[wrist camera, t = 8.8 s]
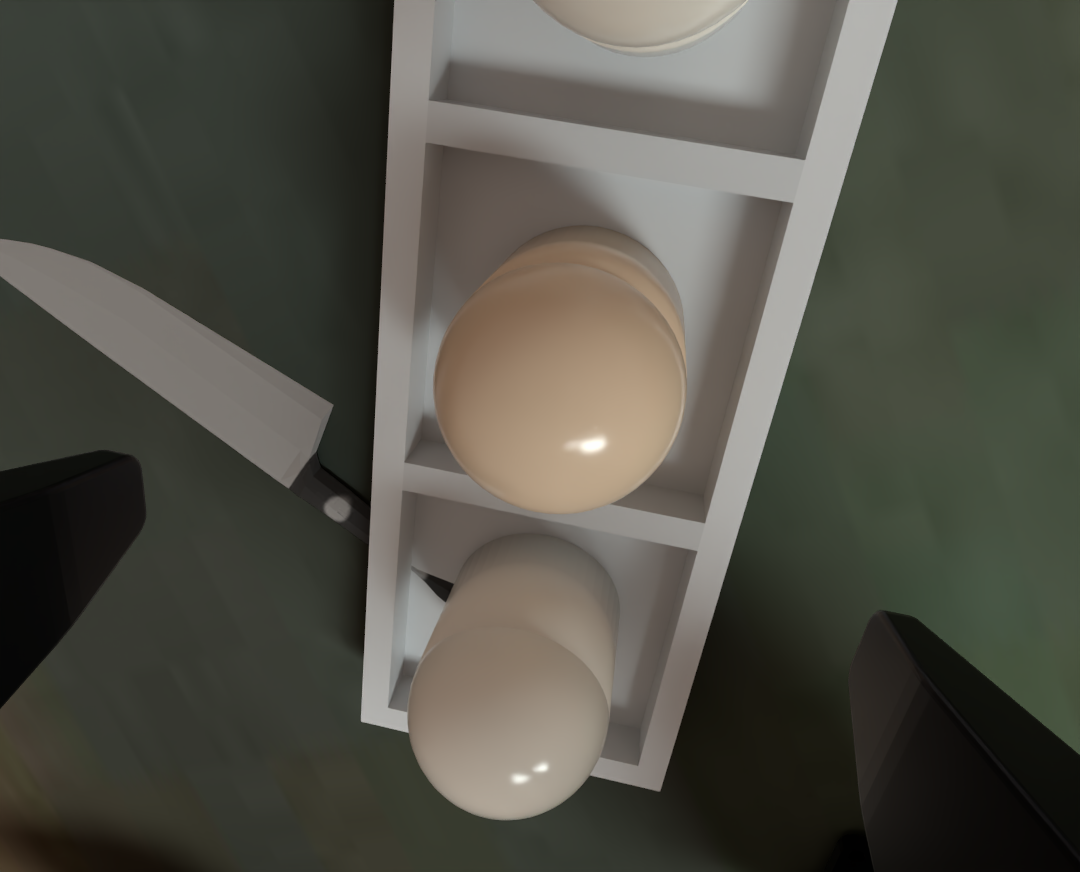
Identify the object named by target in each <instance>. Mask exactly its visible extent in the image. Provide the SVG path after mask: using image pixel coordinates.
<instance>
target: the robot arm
mask: <svg viewBox="0 0 1080 872" xmlns="http://www.w3.org/2000/svg"><path fill="white" fill-rule="evenodd" d="M145 520H146V504H145V494H144V485H143V476H142V468H141V464H140V462H139V460H138V459H137V458H136V457H134V456H133V455H129V454H125V453H120V452H115V451H110V450H97V451H93V452H88V453H83V454H79V455H74V456H69V457H65V458H60V459H56V460H51V461H46V462H42V463H37V464H32V465H28V466H23V467H19V468H14V469H9V470H5V471H0V709H1V707H2V706H3V705H4V704H5V703H6V702H7V701H8V699H9V698H10V697H11V696H12V695H13V694H14V693H15V692H16V690H17V689H18V688H19V687H20V686H21V685H22V684H23V683H24V681H25V680H26V679H27V678H28V677H29V676H30V675H31V673H32V672H33V671H34V670H35V669H36V668H37V667H38V666H39V664H40V663H41V662H42V661H43V660H44V659H45V658H46V656H47V655H48V654H49V653H50V652H51V651H52V650H53V649H54V647H55V646H56V645H57V644H58V643H59V642H60V640H61V639H62V638H63V637H64V636H65V635H66V633H67V632H68V631H69V630H70V629H71V627H72V626H73V625H74V623H75V622H76V621H77V619H78V618H79V617H80V616H81V614H82V613H83V612H84V610H85V609H86V608H87V606H88V605H89V603H90V602H91V601H92V599H93V598H94V596H95V595H96V594H97V592H98V591H99V589H100V588H101V587H102V585H103V584H104V583H105V581H106V580H107V578H108V577H109V576H110V574H111V573H112V571H113V570H114V569H115V567H116V566H117V564H118V563H119V562H120V560H121V559H122V557H123V556H124V555H125V553H126V552H127V551H128V549H129V548H130V546H131V545H132V544H133V542H134V541H135V539H136V538H137V537H138V535H139V534H140V532H141V530H142V528H143V526H144V523H145ZM848 683H849V695H850V706H851V716H852V726H853V737H854V747H855V758H856V768H857V778H858V788H859V796H860V804H861V811H862V816H863V822H864V827H865V832H866V836H862V835H856V834H851V835H846V836H844V837H842V838H841V839H840V840H839V841H838V843H837V845H836V847H835V849H834V851H833V854H832V856H831V858H830V860H829V862H828V864H827V866H826V868H825V871H824V872H1080V755H1079V754H1078V753H1077V752H1076V751H1074V750H1073V749H1072V748H1071V747H1070V746H1068V745H1067V744H1066V743H1065V742H1064V741H1062V740H1061V739H1060V738H1059V737H1058V736H1056V735H1055V734H1054V733H1053V732H1052V731H1050V730H1049V729H1048V728H1047V727H1046V726H1044V725H1043V724H1042V723H1041V722H1040V721H1038V720H1037V719H1036V718H1035V717H1034V716H1032V715H1031V714H1030V713H1029V712H1028V711H1026V710H1025V709H1024V708H1023V707H1022V706H1020V705H1019V704H1018V703H1017V702H1016V701H1015V700H1013V699H1012V698H1011V697H1010V696H1009V695H1007V694H1006V693H1005V692H1004V691H1003V690H1001V689H1000V688H999V687H998V686H997V685H995V684H994V683H993V682H992V681H991V680H989V679H988V678H987V677H986V676H985V675H983V674H982V673H981V672H980V671H979V670H977V669H976V668H975V667H974V666H973V665H971V664H970V663H969V662H968V661H967V660H965V659H964V658H963V657H962V656H961V655H960V654H958V653H957V652H956V651H955V650H954V649H952V648H951V647H950V646H949V645H948V644H946V643H945V642H944V641H943V640H942V639H940V638H939V637H938V636H937V635H936V634H934V633H933V632H932V631H931V630H930V629H928V628H927V627H926V626H925V625H924V624H922V623H921V622H920V621H919V620H918V619H916V618H915V617H912V616H909V615H904V614H899V613H894V612H889V611H884V610H879V611H877V612H875V613H874V614H873V615H872V617H871V618H870V620H869V622H868V624H867V627H866V629H865V631H864V634H863V636H862V639H861V641H860V644H859V646H858V648H857V651H856V653H855V656H854V658H853V660H852V663H851V666H850V670H849V681H848Z"/></svg>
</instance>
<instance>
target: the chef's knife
mask: <svg viewBox="0 0 1080 872" xmlns="http://www.w3.org/2000/svg"><path fill="white" fill-rule="evenodd" d="M0 276H1V277H2V278H4V279H5V280H6V281H8V282H9V283H10V284H11V285H13V286H14V287H15V288H17V289H18V290H19V291H21V292H22V293H23V294H25V295H26V296H27V297H29V298H30V299H31V300H33V301H34V302H35V303H37V304H38V305H39V306H41V307H42V308H43V309H45V310H46V311H47V312H49V313H50V314H51V315H53V316H54V317H55V318H57V319H58V320H59V321H61V322H62V323H63V324H65V325H66V326H67V327H69V328H70V329H71V330H73V331H74V332H75V333H77V334H78V335H79V336H81V337H82V338H84V339H85V340H86V341H88V342H89V343H90V344H92V345H93V346H94V347H96V348H97V349H98V350H100V351H101V352H102V353H104V354H105V355H106V356H108V357H109V358H111V359H112V360H113V361H115V362H116V363H117V364H119V365H120V366H122V367H123V368H124V369H126V370H127V371H128V372H130V373H131V374H132V375H134V376H135V377H137V378H138V379H139V380H141V381H142V382H143V383H145V384H146V385H147V386H149V387H150V388H152V389H153V390H154V391H156V392H157V393H158V394H160V395H161V396H162V397H164V398H165V399H167V400H168V401H169V402H171V403H172V404H173V405H175V406H176V407H177V408H179V409H180V410H182V411H183V412H184V413H186V414H187V415H188V416H190V417H191V418H192V419H194V420H195V421H197V422H198V423H199V424H201V425H202V426H203V427H205V428H206V429H207V430H209V431H210V432H212V433H213V434H214V435H216V436H217V437H218V438H220V439H221V440H222V441H224V442H225V443H227V444H228V445H229V446H231V447H232V448H233V449H235V450H236V451H238V452H239V453H240V454H242V455H243V456H244V457H246V458H247V459H248V460H250V461H251V462H253V463H254V464H255V465H257V466H258V467H259V468H261V469H262V470H263V471H265V472H266V473H268V474H269V475H270V476H272V477H273V478H274V479H276V480H277V481H278V482H280V483H281V484H283V485H284V486H286V487H287V488H289V489H290V490H291V491H293V492H294V493H295V494H296V495H298V496H299V497H300V498H302V499H303V500H305V501H306V502H308V503H309V504H311V505H312V506H314V507H315V508H317V509H318V510H320V511H321V512H323V513H324V514H326V515H327V516H329V517H330V518H331V519H333V520H334V521H336V522H337V523H338V524H340V525H341V526H343V527H344V528H345V529H347V530H348V531H349V532H351V533H352V534H354V535H355V536H356V537H358V538H359V539H360V540H362V541H363V542H365V543H366V544H367V545H369V537H370V516H371V507H370V506H368V505H367V504H366V503H365V502H364V501H363V500H361V499H360V498H359V497H358V496H357V495H355V494H354V493H353V492H352V491H351V490H349V489H348V488H347V487H346V486H344V485H343V484H342V483H341V482H339V481H338V480H337V479H335V478H334V477H333V476H332V475H330V474H329V473H328V472H326V471H325V470H324V469H323V468H321V466H320V463H319V460H318V457H317V453H316V451H317V448H318V446H319V443H320V440H321V438H322V435H323V432H324V430H325V427H326V424H327V422H328V419H329V416H330V413H331V411H332V408H333V404H331V403H329V402H328V401H326V400H324V399H323V398H321V397H320V396H318V395H316V394H315V393H313V392H311V391H310V390H308V389H306V388H305V387H303V386H302V385H300V384H298V383H297V382H295V381H293V380H292V379H290V378H289V377H287V376H285V375H284V374H282V373H280V372H279V371H277V370H275V369H274V368H272V367H271V366H269V365H267V364H266V363H264V362H262V361H261V360H259V359H257V358H256V357H254V356H253V355H251V354H249V353H248V352H246V351H244V350H243V349H241V348H240V347H238V346H236V345H235V344H233V343H231V342H230V341H228V340H226V339H225V338H223V337H222V336H220V335H218V334H217V333H215V332H213V331H212V330H210V329H209V328H207V327H205V326H204V325H202V324H200V323H199V322H197V321H195V320H194V319H192V318H191V317H189V316H187V315H186V314H184V313H182V312H181V311H179V310H177V309H176V308H174V307H173V306H171V305H169V304H168V303H166V302H164V301H163V300H161V299H160V298H158V297H156V296H155V295H153V294H151V293H150V292H148V291H146V290H145V289H143V288H141V287H139V286H137V285H135V284H133V283H131V282H129V281H127V280H125V279H123V278H122V277H120V276H118V275H116V274H114V273H112V272H110V271H108V270H106V269H104V268H102V267H100V266H98V265H96V264H94V263H92V262H90V261H87V260H84V259H81V258H78V257H75V256H72V255H69V254H66V253H63V252H60V251H57V250H54V249H50V248H47V247H43V246H39V245H35V244H31V243H25V242H18V241H12V240H5V239H0ZM411 570H412V571H413V572H414V573H415V574H417V575H418V576H419V577H420V578H421V579H422V580H423V581H424V582H425V583H426V584H427V585H428V586H429V587H430V588H431V589H432V590H433V592H434V593H435V594H436V595H437V596H438V597H439V598H441V599H442V600H443V601H444V602H445V603H446V601H447V599H448V597H449V594H450V592H451V590H452V588H453V585H454V584H453V583H451V582H448V581H446V580H443V579H441V578H438V577H436V576H433V575H431V574H428V573H426V572H423V571H421V570H418V569H417V568H415V567H413V566H412V565H411Z"/></svg>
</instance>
